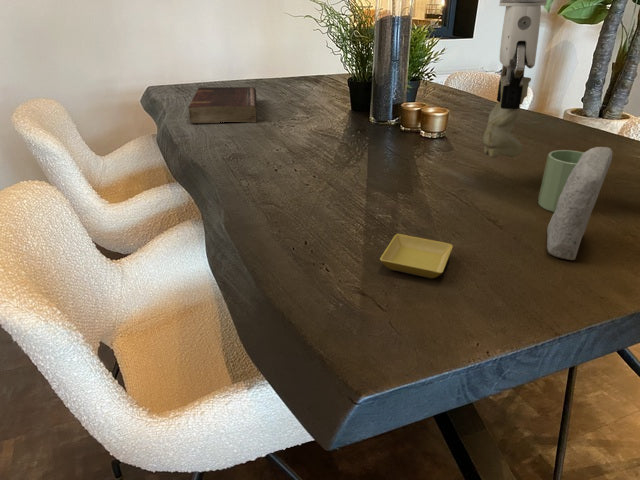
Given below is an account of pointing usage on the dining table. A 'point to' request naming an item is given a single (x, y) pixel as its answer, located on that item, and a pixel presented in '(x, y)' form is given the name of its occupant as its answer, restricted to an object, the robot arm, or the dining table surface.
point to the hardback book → (223, 105)
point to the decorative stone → (577, 203)
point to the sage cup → (556, 176)
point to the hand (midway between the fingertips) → (507, 104)
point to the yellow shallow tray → (416, 256)
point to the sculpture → (503, 127)
